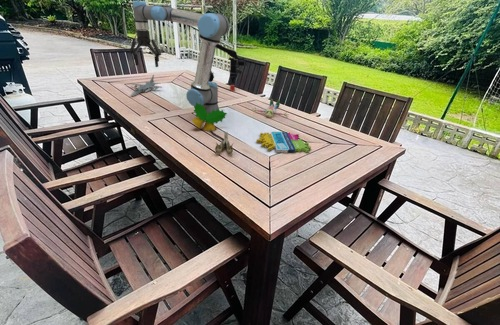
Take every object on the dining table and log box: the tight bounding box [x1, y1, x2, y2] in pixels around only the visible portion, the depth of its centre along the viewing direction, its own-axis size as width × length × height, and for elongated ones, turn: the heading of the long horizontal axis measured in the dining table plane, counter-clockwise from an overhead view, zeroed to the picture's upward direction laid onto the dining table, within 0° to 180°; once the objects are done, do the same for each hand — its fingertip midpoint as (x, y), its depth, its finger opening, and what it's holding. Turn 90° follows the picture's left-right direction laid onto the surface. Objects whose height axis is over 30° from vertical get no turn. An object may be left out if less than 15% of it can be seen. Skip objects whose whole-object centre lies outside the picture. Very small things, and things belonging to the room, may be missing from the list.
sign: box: [256, 131, 312, 154], centre depth 152 cm, size 26×2×30 cm
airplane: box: [128, 74, 161, 97], centre depth 228 cm, size 38×31×10 cm
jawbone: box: [214, 131, 234, 156], centre depth 136 cm, size 9×15×10 cm
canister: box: [229, 84, 236, 92], centre depth 252 cm, size 4×4×4 cm
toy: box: [251, 98, 290, 118], centre depth 199 cm, size 28×7×30 cm
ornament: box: [191, 102, 228, 132], centre depth 162 cm, size 21×8×15 cm, turn 105°
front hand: (147, 66), depth 173 cm, fingers open, 13 cm apart
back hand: (232, 82), depth 249 cm, fingers open, 9 cm apart
